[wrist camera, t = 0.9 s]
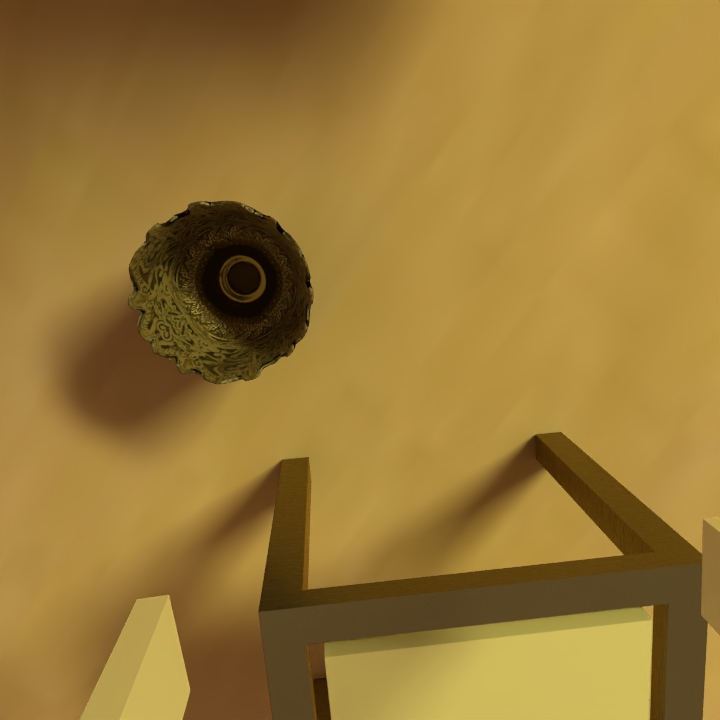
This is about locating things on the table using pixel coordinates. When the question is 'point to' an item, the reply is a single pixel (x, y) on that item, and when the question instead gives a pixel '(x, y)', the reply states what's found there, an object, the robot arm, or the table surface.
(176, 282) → the dark piece
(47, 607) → the table surface
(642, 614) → the trapdoor
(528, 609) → the trapdoor frame
